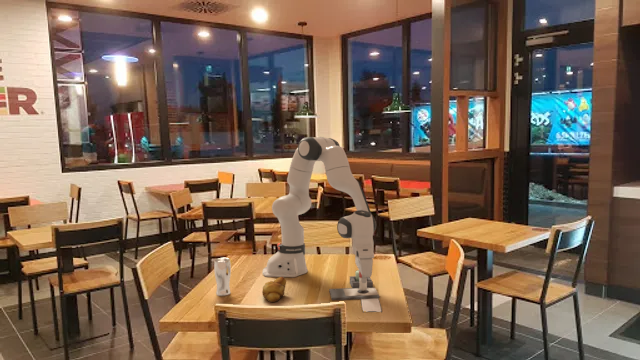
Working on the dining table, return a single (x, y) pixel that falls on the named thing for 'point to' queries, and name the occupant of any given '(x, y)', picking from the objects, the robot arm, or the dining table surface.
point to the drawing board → (353, 293)
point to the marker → (362, 285)
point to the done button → (357, 275)
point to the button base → (356, 284)
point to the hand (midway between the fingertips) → (362, 280)
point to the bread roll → (274, 289)
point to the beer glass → (222, 276)
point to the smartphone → (371, 305)
